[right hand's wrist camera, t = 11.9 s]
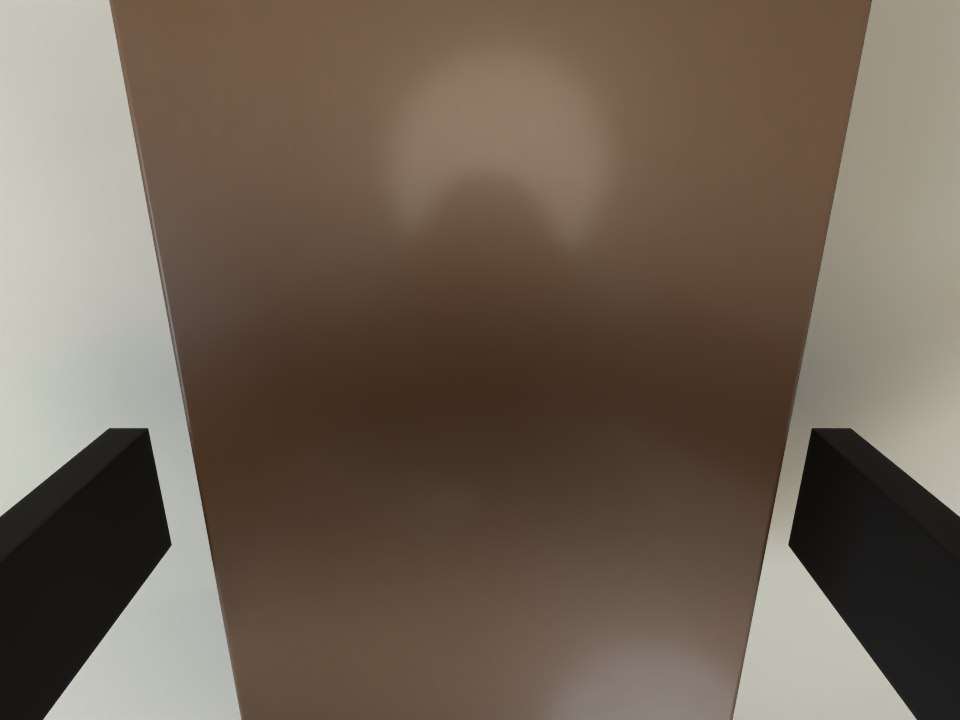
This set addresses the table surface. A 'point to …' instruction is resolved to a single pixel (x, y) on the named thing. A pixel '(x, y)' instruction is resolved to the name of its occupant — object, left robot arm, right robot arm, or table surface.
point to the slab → (488, 333)
